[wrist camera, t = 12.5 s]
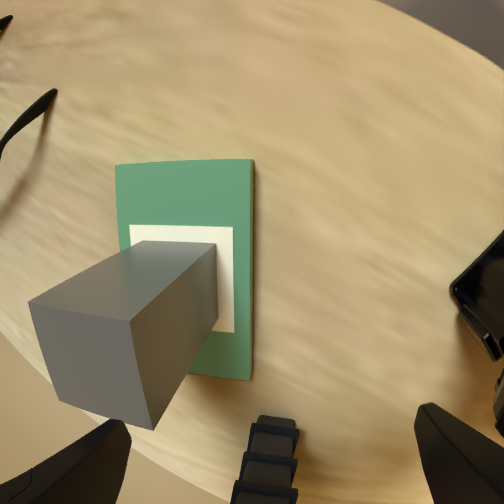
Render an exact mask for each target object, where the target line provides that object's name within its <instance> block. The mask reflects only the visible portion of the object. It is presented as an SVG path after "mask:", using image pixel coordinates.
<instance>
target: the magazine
mask: <svg viewBox="0 0 504 504" xmlns="http://www.w3.org/2000/svg"><path fill="white" fill-rule="evenodd" d="M294 428H295V422H294V420H292V419H285V418H278V417H271V416H265V415H260V416H259V418H258V420H257V423H252V425H251V429H250V436H249V442H248V448H247V452H246V451H245V452H244V455H243V460H242V465H241V471H240V476H239V480H236V481H235V483H234V486H233V492H232V497H231V502H230V504H296V501H297V497H298V489H296V488H291V486H292V483H293V479H294V475H295V472H296V468H297V464H298V459H293V455H294V452H295V448H296V444H297V441H298V437H299V429H294Z"/></svg>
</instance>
